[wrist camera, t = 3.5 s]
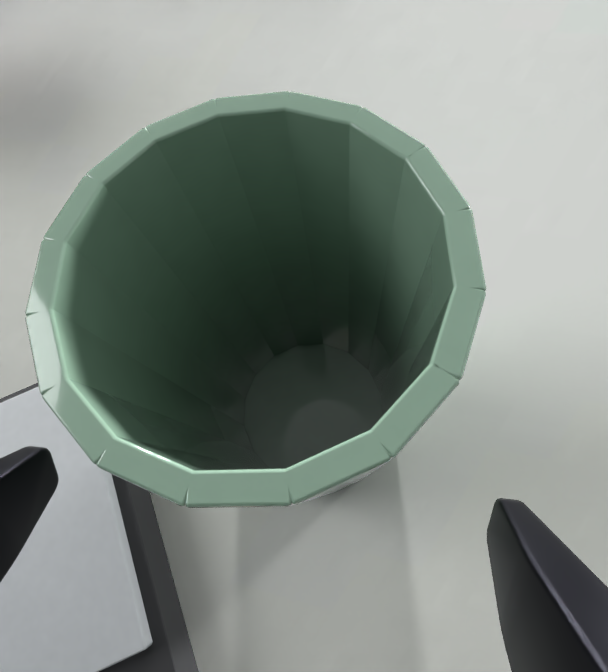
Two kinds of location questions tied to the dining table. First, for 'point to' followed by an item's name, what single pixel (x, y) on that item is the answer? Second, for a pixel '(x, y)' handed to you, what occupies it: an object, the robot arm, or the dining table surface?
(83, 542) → the scale
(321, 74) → the dining table surface
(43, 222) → the dining table surface
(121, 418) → the tumbler
